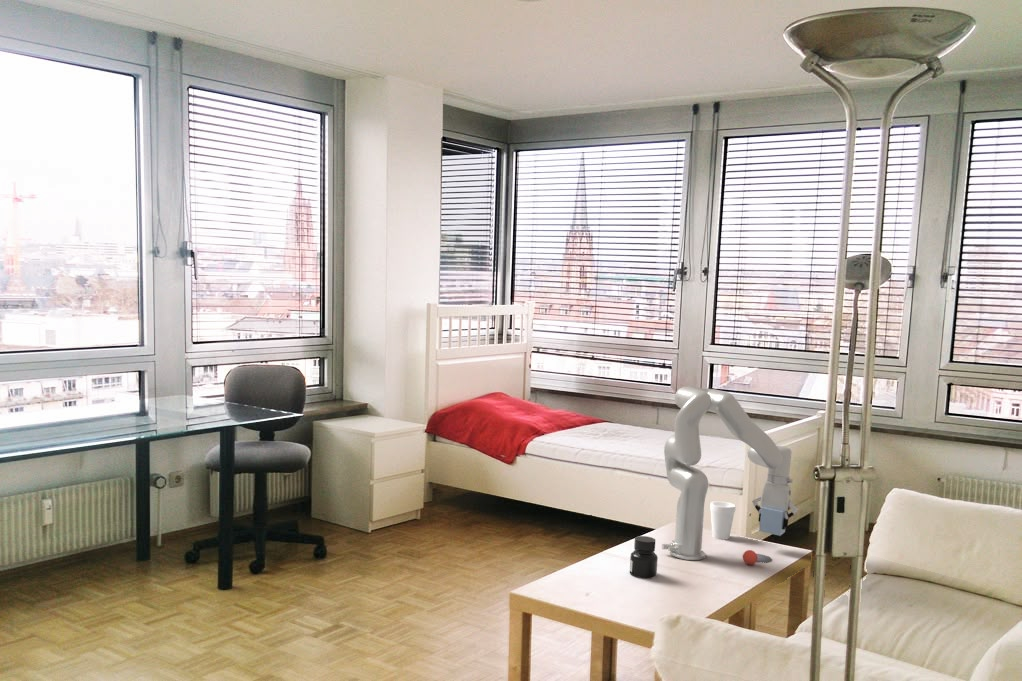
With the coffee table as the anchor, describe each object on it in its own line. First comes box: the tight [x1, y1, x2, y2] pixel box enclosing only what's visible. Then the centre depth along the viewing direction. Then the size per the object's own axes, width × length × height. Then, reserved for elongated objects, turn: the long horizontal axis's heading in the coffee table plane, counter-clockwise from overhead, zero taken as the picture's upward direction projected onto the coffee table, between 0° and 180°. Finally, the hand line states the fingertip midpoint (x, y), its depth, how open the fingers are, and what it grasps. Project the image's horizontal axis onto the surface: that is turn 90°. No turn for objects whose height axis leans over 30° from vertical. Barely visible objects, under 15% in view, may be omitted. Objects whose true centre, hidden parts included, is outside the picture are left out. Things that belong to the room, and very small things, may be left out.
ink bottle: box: [629, 535, 658, 579], centre depth 282 cm, size 10×9×12 cm
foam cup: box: [709, 500, 736, 540], centre depth 331 cm, size 10×9×13 cm
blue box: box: [758, 507, 786, 537], centre depth 316 cm, size 8×8×9 cm
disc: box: [756, 553, 773, 564], centre depth 306 cm, size 10×10×1 cm
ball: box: [742, 549, 758, 566], centre depth 299 cm, size 5×5×5 cm
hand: (772, 526), depth 316 cm, fingers closed on blue box, 7 cm apart
